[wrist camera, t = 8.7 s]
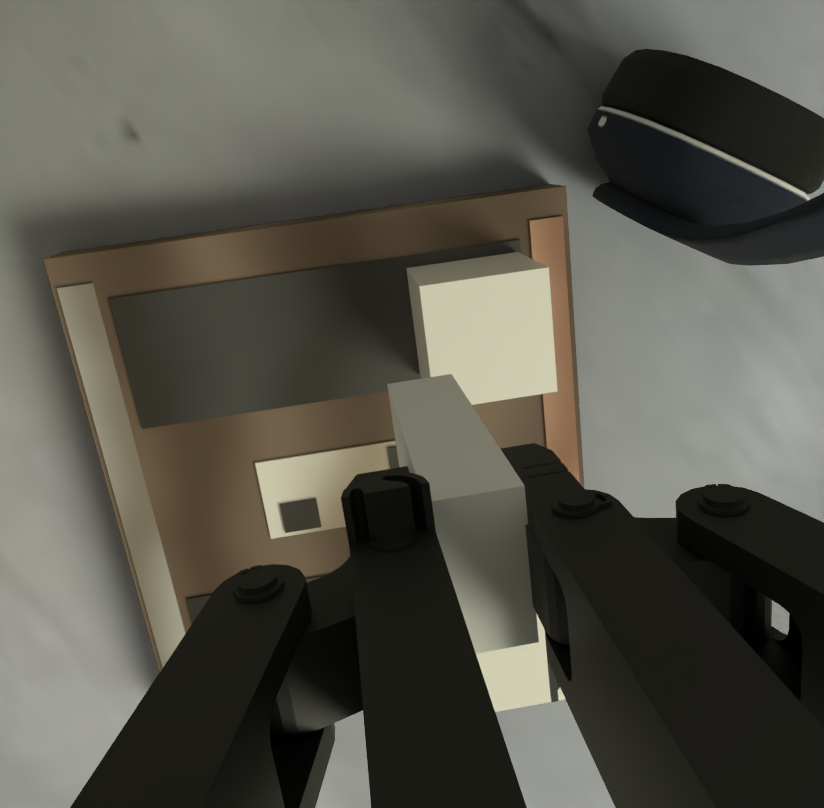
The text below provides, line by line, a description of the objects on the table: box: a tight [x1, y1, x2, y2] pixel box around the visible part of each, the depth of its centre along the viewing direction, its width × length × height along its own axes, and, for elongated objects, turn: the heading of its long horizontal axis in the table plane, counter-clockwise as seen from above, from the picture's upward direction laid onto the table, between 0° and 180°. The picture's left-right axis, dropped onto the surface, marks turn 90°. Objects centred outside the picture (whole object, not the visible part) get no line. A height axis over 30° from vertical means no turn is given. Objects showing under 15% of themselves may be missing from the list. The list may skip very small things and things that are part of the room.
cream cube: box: [406, 252, 558, 405], centre depth 26 cm, size 4×4×4 cm
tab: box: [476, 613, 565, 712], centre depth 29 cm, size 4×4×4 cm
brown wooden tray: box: [43, 184, 584, 672], centre depth 30 cm, size 18×20×2 cm
